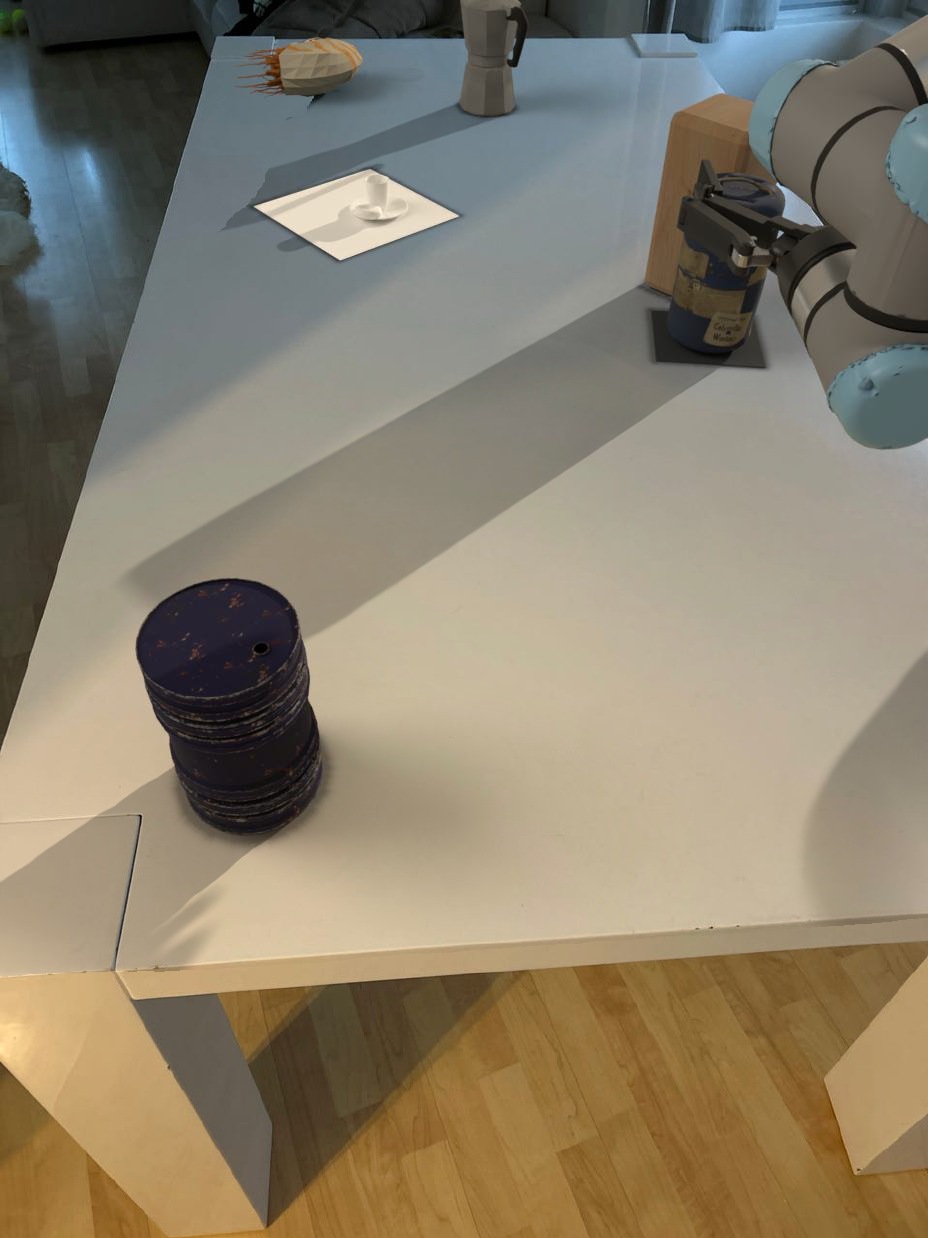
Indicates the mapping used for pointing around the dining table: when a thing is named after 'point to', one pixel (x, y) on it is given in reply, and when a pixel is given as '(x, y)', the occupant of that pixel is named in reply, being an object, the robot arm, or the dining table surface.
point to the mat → (677, 353)
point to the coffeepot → (491, 54)
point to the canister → (720, 278)
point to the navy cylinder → (234, 702)
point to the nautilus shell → (308, 67)
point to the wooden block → (697, 171)
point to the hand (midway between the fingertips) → (777, 176)
